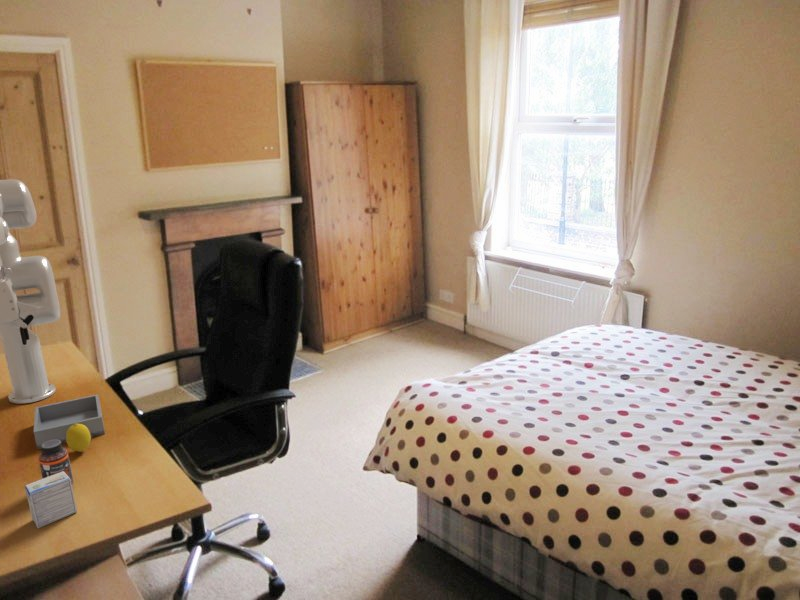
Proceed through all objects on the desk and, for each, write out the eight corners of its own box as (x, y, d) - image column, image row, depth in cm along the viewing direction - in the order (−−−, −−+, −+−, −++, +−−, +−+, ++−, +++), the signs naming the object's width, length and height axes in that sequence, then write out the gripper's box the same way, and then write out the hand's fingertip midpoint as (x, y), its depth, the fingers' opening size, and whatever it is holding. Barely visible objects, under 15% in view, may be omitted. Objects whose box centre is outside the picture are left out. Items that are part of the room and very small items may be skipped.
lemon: (98, 448, 164) (92, 420, 161) (79, 459, 159) (73, 430, 157) (82, 444, 166) (77, 416, 164) (64, 454, 161) (58, 426, 159)
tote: (38, 423, 178) (35, 407, 176) (101, 409, 185) (98, 394, 183) (37, 449, 164) (33, 432, 163) (104, 433, 171) (101, 417, 170)
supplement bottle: (54, 497, 144) (45, 453, 140) (39, 489, 147) (30, 446, 143) (79, 484, 149) (70, 441, 145) (64, 477, 152) (55, 434, 148)
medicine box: (71, 504, 141) (64, 469, 139) (78, 512, 138) (70, 478, 135) (31, 520, 136) (23, 484, 133) (38, 529, 133) (29, 493, 130)
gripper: (29, 267, 150) (43, 335, 155) (-59, 277, 142) (-41, 349, 148) (28, 274, 144) (43, 345, 149) (-64, 285, 136) (-46, 359, 141)
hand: (1, 347), depth 148 cm, fingers open, 9 cm apart
